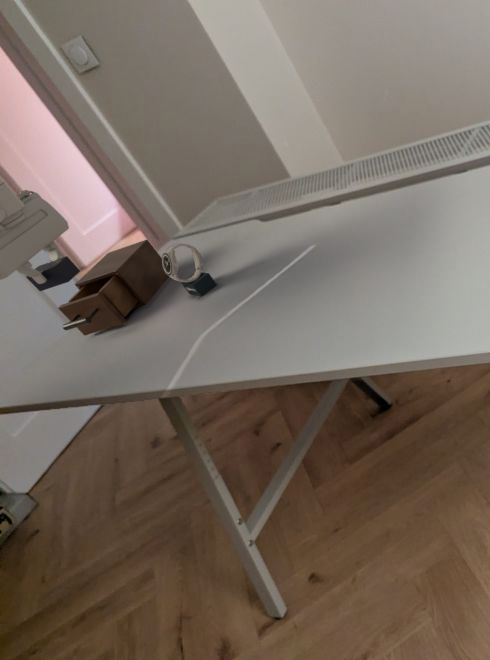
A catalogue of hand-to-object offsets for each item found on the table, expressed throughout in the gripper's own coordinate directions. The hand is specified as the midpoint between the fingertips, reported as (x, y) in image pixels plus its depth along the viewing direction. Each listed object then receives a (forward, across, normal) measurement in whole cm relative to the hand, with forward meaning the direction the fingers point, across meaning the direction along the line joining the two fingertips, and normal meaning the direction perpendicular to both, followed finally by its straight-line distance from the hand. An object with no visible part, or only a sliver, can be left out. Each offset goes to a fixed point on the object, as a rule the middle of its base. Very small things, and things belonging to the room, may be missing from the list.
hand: (53, 274), depth 103 cm
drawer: (+16, -10, -6) cm, 20 cm away
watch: (+17, -12, +16) cm, 27 cm away
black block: (+2, 0, 0) cm, 2 cm away
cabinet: (+17, -21, -6) cm, 28 cm away
